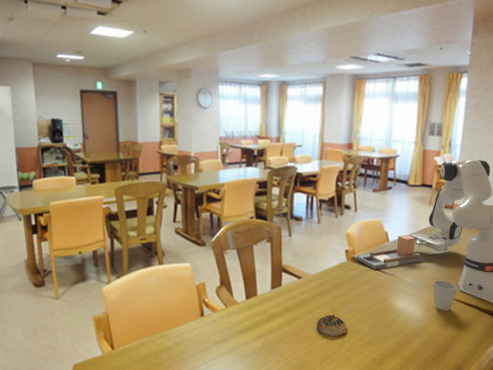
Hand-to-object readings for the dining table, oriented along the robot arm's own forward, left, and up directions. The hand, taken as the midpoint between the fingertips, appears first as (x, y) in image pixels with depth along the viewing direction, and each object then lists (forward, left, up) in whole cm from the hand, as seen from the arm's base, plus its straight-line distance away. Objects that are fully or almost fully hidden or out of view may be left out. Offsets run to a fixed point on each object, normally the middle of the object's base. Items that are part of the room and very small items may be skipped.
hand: (417, 243), depth 206 cm
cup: (-48, +35, -8) cm, 60 cm away
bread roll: (-45, +87, -8) cm, 98 cm away
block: (0, +8, -5) cm, 10 cm away
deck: (0, +18, -7) cm, 20 cm away
